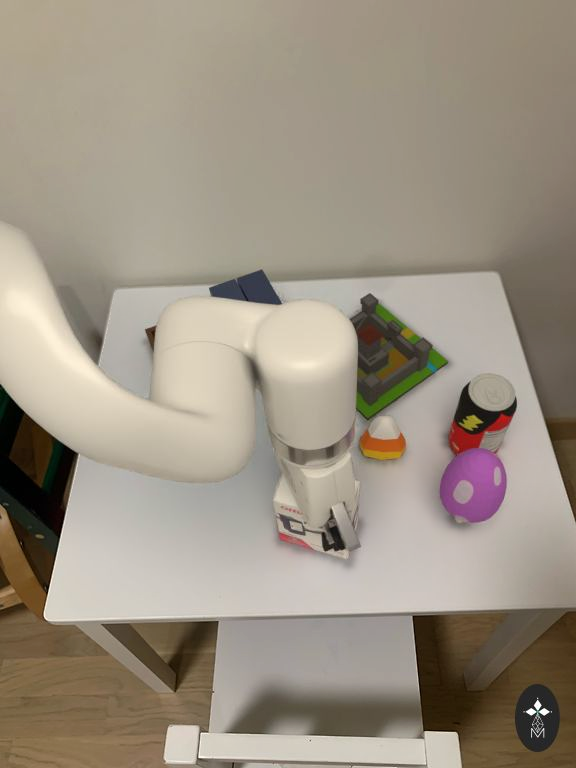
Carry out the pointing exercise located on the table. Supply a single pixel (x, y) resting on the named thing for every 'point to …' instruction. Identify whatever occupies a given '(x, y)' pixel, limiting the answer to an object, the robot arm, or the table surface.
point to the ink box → (295, 524)
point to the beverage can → (483, 414)
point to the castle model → (388, 358)
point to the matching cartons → (247, 289)
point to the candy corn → (383, 439)
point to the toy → (473, 485)
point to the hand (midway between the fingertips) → (317, 504)
